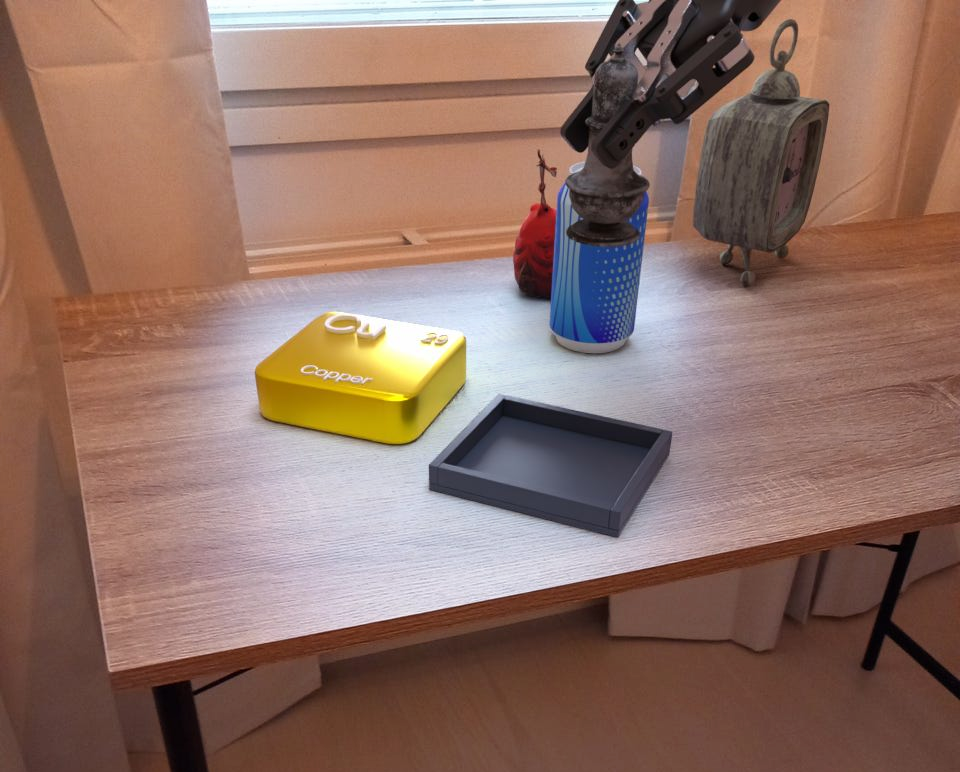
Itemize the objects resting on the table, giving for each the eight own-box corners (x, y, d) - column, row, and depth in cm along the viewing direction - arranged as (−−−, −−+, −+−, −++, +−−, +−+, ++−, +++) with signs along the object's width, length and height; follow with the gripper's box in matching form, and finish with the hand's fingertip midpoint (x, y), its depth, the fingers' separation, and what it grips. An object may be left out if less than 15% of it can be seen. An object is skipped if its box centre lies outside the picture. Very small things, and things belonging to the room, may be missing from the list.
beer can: (591, 364, 98) (607, 189, 88) (531, 336, 103) (539, 167, 93) (649, 341, 102) (671, 172, 92) (589, 315, 107) (603, 152, 97)
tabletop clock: (754, 295, 112) (804, 34, 96) (679, 278, 116) (714, 24, 100) (799, 257, 122) (851, 14, 106) (728, 242, 125) (768, 5, 109)
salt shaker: (548, 226, 74) (557, 38, 67) (618, 216, 76) (636, 32, 68) (585, 252, 70) (600, 55, 62) (659, 242, 72) (683, 48, 64)
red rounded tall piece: (590, 290, 113) (603, 144, 103) (551, 308, 108) (561, 158, 99) (536, 273, 116) (543, 130, 107) (497, 290, 112) (500, 143, 103)
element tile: (251, 418, 89) (243, 366, 86) (329, 351, 99) (325, 303, 96) (410, 450, 85) (408, 397, 82) (472, 376, 96) (473, 327, 93)
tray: (669, 454, 85) (673, 431, 83) (617, 537, 75) (620, 512, 74) (497, 416, 90) (498, 393, 88) (428, 489, 80) (428, 464, 79)
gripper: (672, -132, 67) (503, 89, 71) (813, -117, 58) (608, 138, 61) (725, -40, 73) (565, 162, 76) (862, -12, 63) (671, 218, 66)
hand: (585, 150), depth 69 cm, fingers closed on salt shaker, 3 cm apart
